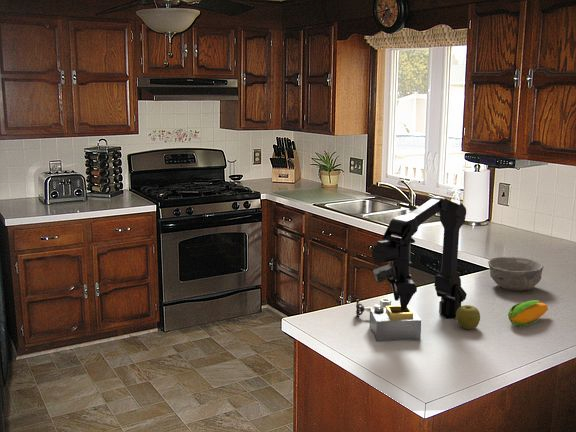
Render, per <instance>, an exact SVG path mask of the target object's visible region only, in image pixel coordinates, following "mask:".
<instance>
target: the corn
mask: <svg viewBox="0 0 576 432" xmlns="http://www.w3.org/2000/svg"><path fill="white" fill-rule="evenodd" d="M548 307H549V306H548V304H545V302H540V300H539V299H538V300H537V299H536V300H535V299H534V300H533V299H532V300H528V301H523V302H519V303H517V304H514V305H513V306H511V307H510V308H509V311H508V312H507V317H508V320H509V322H510V323H511V324H512V325H515V326H517V327H526V326H530V325H532V324H535V323H537V322H538V321H541V320H542V317H543V316H544V315H545V313H546V312H547V311H548V310H549V309H548ZM539 318H540V319H539Z"/></svg>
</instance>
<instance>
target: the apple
mask: <svg viewBox="0 0 576 432" xmlns="http://www.w3.org/2000/svg"><path fill="white" fill-rule="evenodd" d="M455 320H456V321H457V324H458V325H459V326H460V327H461V328H464V329H466V330H475V329H476V328H477V327H479V324H480V321H481V313H480V310H479V309H478V308H477V307H476V306H473V305H470V304H469V305H468V304H465V305H461V306H460V307H459V308H458V309H457V311H456V318H455Z"/></svg>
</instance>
